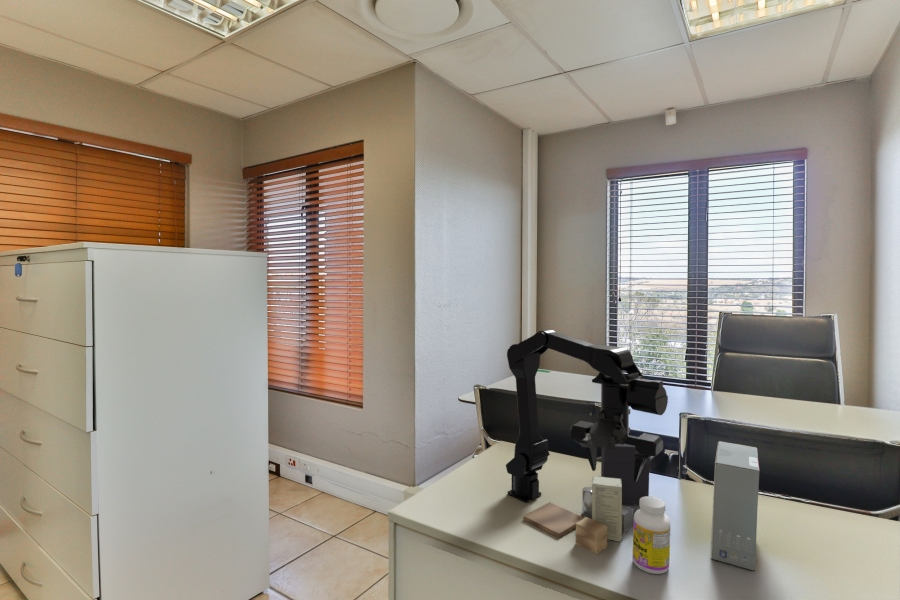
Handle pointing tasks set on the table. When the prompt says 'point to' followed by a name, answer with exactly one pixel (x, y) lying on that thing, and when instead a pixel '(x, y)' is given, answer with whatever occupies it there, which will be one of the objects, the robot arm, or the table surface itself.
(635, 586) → the table surface
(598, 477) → the skincare box
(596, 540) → the oak block
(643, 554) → the supplement bottle
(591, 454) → the robot arm
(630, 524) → the gray cube
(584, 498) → the metal canister
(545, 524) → the walnut board
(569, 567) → the table surface
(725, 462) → the hard drive box
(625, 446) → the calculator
